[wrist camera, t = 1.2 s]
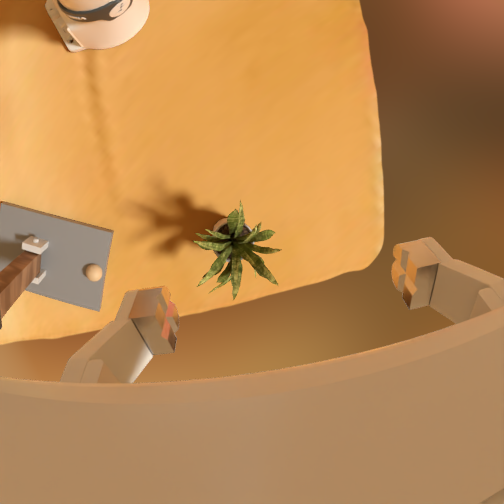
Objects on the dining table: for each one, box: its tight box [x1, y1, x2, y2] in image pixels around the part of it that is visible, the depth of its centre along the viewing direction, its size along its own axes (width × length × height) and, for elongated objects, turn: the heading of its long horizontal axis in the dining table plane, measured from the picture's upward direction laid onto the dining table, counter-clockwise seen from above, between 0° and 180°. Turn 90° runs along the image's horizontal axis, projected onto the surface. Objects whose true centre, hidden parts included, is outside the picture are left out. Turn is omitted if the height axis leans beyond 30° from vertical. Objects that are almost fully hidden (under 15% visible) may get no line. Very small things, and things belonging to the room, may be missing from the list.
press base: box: [0, 202, 114, 311], centre depth 46 cm, size 24×16×6 cm, turn 70°
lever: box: [0, 250, 42, 329], centre depth 36 cm, size 3×6×19 cm, turn 160°
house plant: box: [193, 201, 282, 300], centre depth 48 cm, size 14×14×16 cm
